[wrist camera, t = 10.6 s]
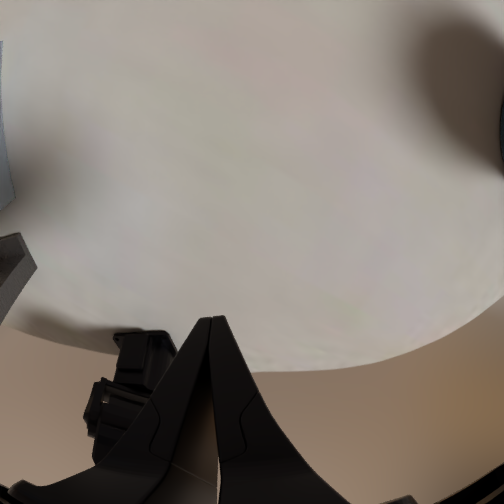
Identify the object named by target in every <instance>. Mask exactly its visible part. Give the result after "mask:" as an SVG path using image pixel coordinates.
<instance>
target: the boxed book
mask: <svg viewBox="0 0 504 504" xmlns="http://www.w3.org/2000/svg"><path fill="white" fill-rule="evenodd" d="M2 47H3V41H0V210H2V209H3V208H4V207H5V206H6V205H7V204H9V203H10V202H11V201H12V200H13V199H15V198H16V197H15V193H14V189H13V184H12V180H11V175H10V169H9V164H8V158H7V151H6V144H5V137H4V127H3V116H2V99H1V64H2Z"/></svg>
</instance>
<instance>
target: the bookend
mask: <svg viewBox="0 0 504 504" xmlns="http://www.w3.org/2000/svg"><path fill="white" fill-rule="evenodd" d="M36 269H37V266H36V264H35V262H34V260H33V258H32V256H31V254H30V252H29V250H28V248H27V246H26V244H25V242H24V240H23V238H22V236H21V234H20V233H18V234H14V235H11V236H8V237H4V238H1V239H0V325H1V323H2V321H3V320H4V318H5V316H6V315H7V313H8V311H9V310H10V308H11V306H12V305H13V303H14V302H15V300H16V299H17V297H18V295H19V294H20V292H21V291H22V289H23V288H24V286H25V285H26V283H27V282H28V281H29V279H30V278H31V276H32V275H33V273H34V272H35V271H36Z"/></svg>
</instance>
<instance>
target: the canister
mask: <svg viewBox="0 0 504 504" xmlns="http://www.w3.org/2000/svg"><path fill="white" fill-rule="evenodd" d="M500 135H501V149H502V155H503V160H504V103H503V108H502V115H501V128H500Z"/></svg>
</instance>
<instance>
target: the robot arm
mask: <svg viewBox="0 0 504 504" xmlns="http://www.w3.org/2000/svg"><path fill="white" fill-rule="evenodd" d="M113 340H114V341H115V343H116V344H117V346H118V347H119V349H120V353H119V357H118V360H117V364H116V367H117V368H116V372H115V376H114V380H113V382H112V381H110V380H107V379H106V378H104V377H102V378H101V381H99V382H95V383H94V385H93V388H92V392H91V396H90V398H89V401H88V404H87V407H86V409H85V412H84V416H83V419H84V421H85V422H86V424H87V429H88V436H89V437H92V438H94V439H95V440H94V446H93V452H92V458H93V461H94V463H95V466H94V467H92V468H90V469H87V470H85V471H83V472H80V473H78V474H76V475H73V476H71V477H69V478H66V479H64V480H61V481H59V482H56V483H53V484H51V485H47V486H36V485H34V484H32V483H29V482H27V481H25V480H20V481H19V482H17V483H15V484H13V485H12V487H10V488H8V487H6V486H4V485H2V484H0V504H217V488H216V487H217V474H218V457H219V463H220V475H221V484H220V493H219V502H218V504H350V503H349V502H348V501H347V500H346V499H344V498H343V497H342V496H341V495H340V494H339V493H338V492H336V491H335V490H334V489H333V488H332V487H331V486H330V485H329V484H328V483H326V482H325V481H324V480H323V479H322V478H321V477H320V476H319V475H318V474H317V473H316V472H315V471H314V470H313V469H312V468H311V467H310V466H309V464H307V462H306V461H305V460H304V458H303V457H302V456H301V455H300V453H299V452H298V451H297V449H296V448H295V447H294V446H293V444H292V443H291V442H290V440H289V439H288V438H287V436H286V435H285V434H284V432H283V431H282V430H281V428H280V427H279V425H278V424H277V422H276V421H275V419H274V418H273V416H272V415H271V413H270V411H269V409H268V407H267V406H266V404H265V402H264V400H263V398H262V396H261V394H260V392H259V390H258V388H257V386H256V383H255V381H254V379H253V377H252V375H251V373H250V371H249V368H248V366H247V364H246V362H245V360H244V358H243V356H242V353H241V351H240V349H239V347H238V345H237V342H236V340H235V338H234V336H233V333H232V331H231V329H230V327H229V324H228V322H227V320H226V317H225V316H224V315H220V316H213V317H203V318H200V319H199V320H198V321H197V323H196V324H195V326H194V328H193V329H192V331H191V332H190V334H189V335H188V337H187V339H186V340H185V342H184V343H183V345H182V346H181V348H180V350H179V351H177V349H176V347H175V345H174V343H173V341H172V339H171V337H170V335H169V334H168V333H167V332H147V333H117V334H114V336H113ZM103 401H105V402H107V403H103ZM380 504H418V503H417V502H416V500H415V499H414V498H413V497H412V496H411V495H406V496H403V497H400V498H397V499H394V500H390V501H387V502H384V503H380ZM434 504H504V463H502V464H500V465H499V466H497V467H496V468H494V469H493V470H491V471H489V472H488V473H486V474H485V475H483V476H482V477H480V478H479V479H477V480H476V481H474V482H472V483H471V484H469V485H467V486H466V487H464V488H462V489H461V490H459V491H457V492H455V493H453V494H451V495H450V496H448V497H446V498H444V499H442V500H440V501H438V502H436V503H434Z"/></svg>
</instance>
